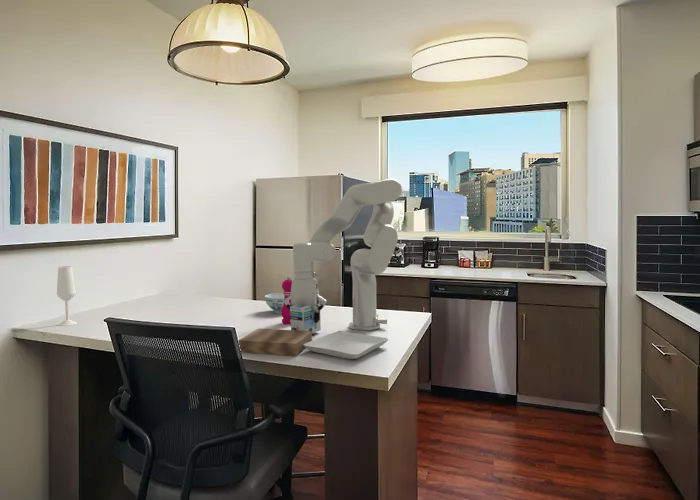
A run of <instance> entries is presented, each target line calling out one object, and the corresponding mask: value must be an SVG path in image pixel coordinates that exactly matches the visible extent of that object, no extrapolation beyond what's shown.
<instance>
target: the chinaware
mask: <svg viewBox="0 0 700 500" xmlns="http://www.w3.org/2000/svg"><path fill="white" fill-rule="evenodd" d="M264 299H265V303H266V304H267V306H268V307H269V308H270V309H271V310H272V311H273V312H274V313H275V314H281V309H282V306H283V304H284V295H283V292H275V293H274V292H273V293H269V294H265V295H264Z"/></svg>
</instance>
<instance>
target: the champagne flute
mask: <svg viewBox="0 0 700 500" xmlns="http://www.w3.org/2000/svg"><path fill="white" fill-rule="evenodd" d="M74 277H75V276H74V270H73V266H70V265H67V266H66V265H63V266H58V267H57V283H56V284H57V285H56V286H57V287H56V295H57V297H58V298H59V299H61V300H62V301H64V303H65V306H64V307H65V309H64V310H65V319H64V320H63V321H61V322H60V323H59V324H58V326H60V327H66V326H67V327H68V326H73V325H77V324H78V322H77V321H74V320H71V319H70V308H69V307H70V305H69V301H70V300H72V299H73V298H74V297H75V296H76V294H77V291H76V284H75V278H74Z"/></svg>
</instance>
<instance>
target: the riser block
mask: <svg viewBox="0 0 700 500" xmlns="http://www.w3.org/2000/svg"><path fill="white" fill-rule="evenodd" d="M310 341H313V333H312V331H297V330H291V329H277V328H275V329H274V328H261V327H260V328H258V329H256V330H254V331H252V332H250V333H249V334H247V335H245V336H243V337H242V338H240V339H238V346H239V345H240V349H241V352H240V353H248V354H257V355H258V354H260V355H263V354H264V355H272V356H273V355H274V356H275V355H276V356H291V357H298V356H299V355H300V354H301V353H302V352H303V351H304V350H305V349H306V348H305V347H304V345H303V344H305V343H308V342H310Z"/></svg>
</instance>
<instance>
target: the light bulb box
mask: <svg viewBox="0 0 700 500" xmlns="http://www.w3.org/2000/svg"><path fill="white" fill-rule="evenodd" d="M318 305H319V306H320V305H321V302H319V303H318ZM314 313H315V310H314V308H313V307H312V306H301V305H293V306H290V318H291V325H290V330H297V331H312V334H315V333H317V332H321V330H322V328H321V326H322V325H321V319H320V320H319V321H318V322H317V323H315V318H314Z"/></svg>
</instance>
